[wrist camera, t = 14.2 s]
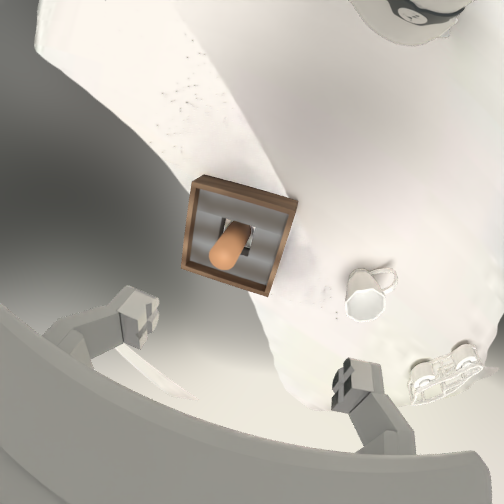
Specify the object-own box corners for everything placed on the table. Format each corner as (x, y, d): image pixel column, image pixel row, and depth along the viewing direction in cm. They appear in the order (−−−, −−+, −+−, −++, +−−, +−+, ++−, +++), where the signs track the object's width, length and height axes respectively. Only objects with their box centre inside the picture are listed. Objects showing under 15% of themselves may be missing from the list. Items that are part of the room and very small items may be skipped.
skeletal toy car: (474, 332, 47) (484, 354, 41) (474, 358, 50) (482, 379, 44) (401, 365, 55) (405, 389, 49) (408, 387, 59) (412, 409, 52)
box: (204, 174, 45) (191, 181, 41) (298, 200, 44) (296, 211, 39) (191, 255, 53) (180, 268, 49) (272, 281, 52) (267, 297, 47)
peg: (231, 216, 47) (211, 241, 39) (253, 223, 47) (238, 250, 38) (226, 236, 49) (207, 265, 41) (248, 243, 49) (232, 273, 40)
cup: (334, 273, 48) (336, 300, 41) (383, 246, 44) (393, 271, 37) (352, 300, 50) (355, 329, 43) (398, 276, 45) (409, 303, 39)
